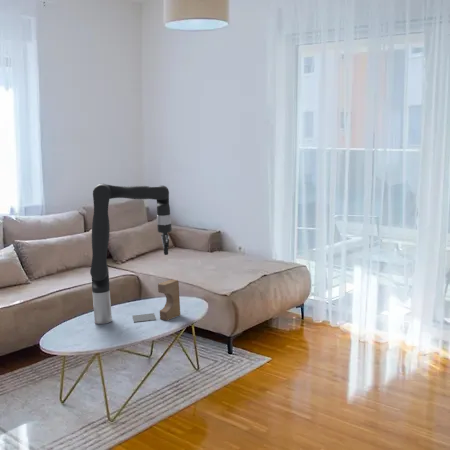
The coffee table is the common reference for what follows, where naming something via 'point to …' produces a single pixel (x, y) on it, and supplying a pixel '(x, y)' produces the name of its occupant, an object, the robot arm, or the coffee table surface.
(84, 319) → the coffee table surface
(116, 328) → the coffee table surface
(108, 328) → the coffee table surface
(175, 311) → the decorative block
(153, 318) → the mat
